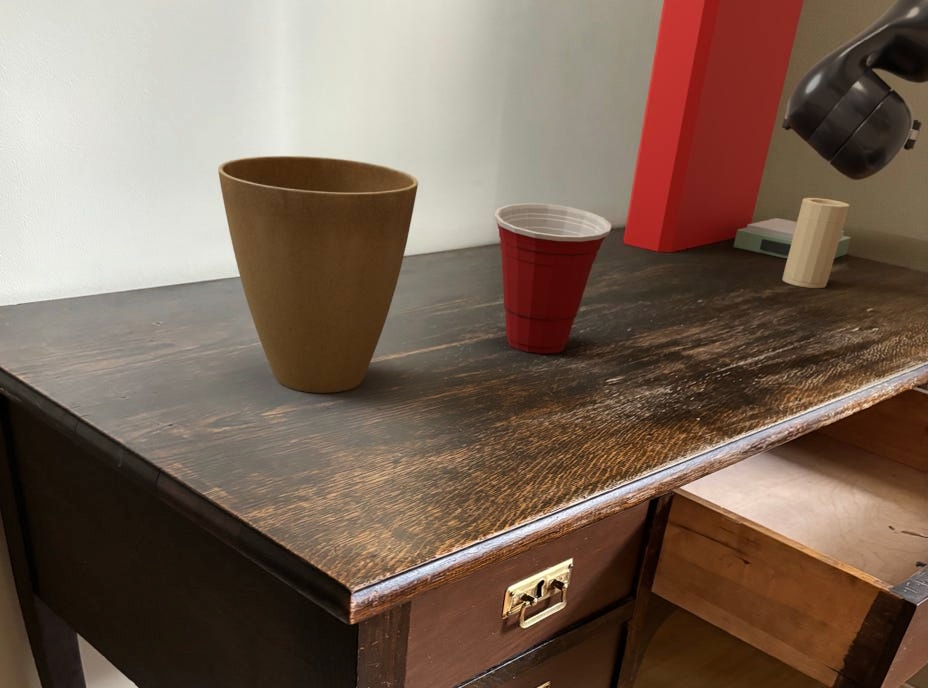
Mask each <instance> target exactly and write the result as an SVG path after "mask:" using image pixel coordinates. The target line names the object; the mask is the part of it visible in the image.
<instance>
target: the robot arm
mask: <svg viewBox="0 0 928 688" xmlns="http://www.w3.org/2000/svg"><path fill="white" fill-rule="evenodd" d="M874 70H880V71H882V72H886V73H888V74H891V75H893V76H894V77H897V78H899V79H902V80H905V81H907V82H911V83H915V84H924V83H927V82H928V0H895V1H894V2H893V3H892V4H891V5H890V6H889V8H887V9H886V10H885V12H883V13H882V15H880V16H879V17H878V18H877V19H876V20H875V21H874V22H872V23H871V24H870V25H869V26H867V27H866V28H865V29H864V30H862V31H861V32H860V33H857V35H855V36H854V37H852V38H850V40H848V41H846V42H845V43H843V44H842V45H840V46H839V47H836V49H834V50H832V51H831V52H829V53H828V54H826V55H825V56H824V57H822V58H821V59H820V60H818V61H817V62H815V63H814V64H813V65H812V66H811V67H809V68H808V69H807V70H806V71H805V72H804V73H803V74H802V76H801V77H800V78H799V79H798V80H797V82H796V83H795V84H794V86H793V87H792V90H791V91H790V94H789V97H788V100H787V103H786V111H785V114H784V119H783V121H782V125H781V128H782V129H784V130H785V131H790V130H792V131H793V132H794V133H796V134H797V135H798V136H799V137H800V138H801V139H802V140H803V141H804V142H805V143H807V144H808V145H809V146H810V148H812V149H813V150H814V151H815V152H816V153H817V154H818V155H819V156H820V157H821V158H822V159H824V160H826V161H827V162H829V165H831V166H832V167H833V168H834V169H835V170H836V171H838V173H839V174H841V175H842V176H844V177H845V178H847V179H849V180H853V181H861V180H863V179H867V178H870V177H871V176H872V177H873V176H874V175H875V174H877V173H879V172H880V171H882V170H883V169H885V168H886V167H887V166H888V165H889V164H890V163H892V161H893V160H895V158H896V157H898V155H899V153H901V151H902V150H903V149H904V150H907V151H910V150H914V148H915V146H916V142H917V139H918V136H919V134H920V131H921V128H922V125H923V123H922V121H921V122H920V121H919V120H918V119H915V118H914V117H915V116H914V111H913V108H912V106H911V105H910V104H909V103H908V101H907V100H906V99H905V98H904V97H902V96H901V94H899V93H898V92H897V91H896V90H895V89H893V87H892V86H891V85H889V84H888V82H887V81H886V80H884V79H883V78H882V77H881V76H880V75H879V74H878V73H877V72H875V71H874Z"/></svg>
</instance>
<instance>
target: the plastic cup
mask: <svg viewBox="0 0 928 688" xmlns="http://www.w3.org/2000/svg"><path fill="white" fill-rule="evenodd" d="M493 218H494V221H495V222H496V225H497V229H498V236H499V239H500V241H499V242H500V250H501V264H502V265H501V266H502V285H503V286H502V288H503V307H504V309H505V312H504V313H505V335H506V337H507V339H506V340H507V344H508V345H509V346H510V347H512V348H514V349H516V350H520V351H522V352H527V353H534V354H557V353H560V352H562V351H564V350H565V348H566V345H567V343H568V341H569V338H570V335H571V331H572V328H573V324H574V321H575V318H576V317H577V315H578V312H579V309H580V305H581V302H582V299H583V296H584V293H585V290H586V286H587V283H588V280H589V276H590V273H591V271H592V268H593V264H594V262H595V260H596V258H597V255H598V251H600V248H601V246H602V243H603V242H604V240H605V239H606V237H607V236H609V235H610V231H611V228H612V223H611V222H609V221H608V220H607V219H606V218H605V217H603V216H600V215H598V214H596V213H593V212H591V211H587V210H583V209H579V208H576V207H571V206H565V205H558V204H550V203H528V202H526V203H525V202H524V203H516V204H515V203H514V204H507V205H505V206H502V207H498V208H496V210H495V212H494V214H493Z"/></svg>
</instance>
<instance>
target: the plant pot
mask: <svg viewBox="0 0 928 688" xmlns="http://www.w3.org/2000/svg"><path fill="white" fill-rule="evenodd" d="M217 171H218V177H219V185H220V190H221V195H222V201H223V205H224V211H225V215H226V222H227V226H228V231H229V237H230V241H231V244H232V249H233V254H234V258H235V262H236V265H237V266H236V267H237V270H238V273H239V278H240V281H241V285H242V289H243V291H244V295H245V298H246V301H247V306H248V308H249V311H250V315H251V318H252V322H253V324H254V327H255V329H256V333H257V336H258V338H259V341H260V343H261V346H262V349H263V352H264V355H265V356H266V357H265V358H266V360H267V362H268V364H269V366H270V369H271V371H272V374H273V376H274V378H275V380H276V381H277V382H278V383H279V384H281V385H282V386H284V387H286V388H289V389H291V390H294V391H299V392H305V393H316V394H317V393H318V394H324V393H325V394H331V393H341V392H346V391H349V390H352V389H354V388H357V387H358V386H360V385H361V384H362V383H363V381H364V378H365V376H366V373H367V371H368V369H369V366H370V363H371V361H372V359H373V356H374V354H375V351H376V348H377V346H378V343H379V341H380V338H381V335H382V332H383V331H384V330H383V329H384V326H385V324H386V321H387V317H388V315H389V312H390V309H391V305H392V302H393V299H394V295H395V291H396V289H397V288H396V287H397V284H398V280H399V277H400V272H401V269H402V265H403V261H404V257H405V251H406V248H407V243H408V238H409V235H410V234H409V233H410V228H411V223H412V218H413V212H414V208H415V207H414V206H415V202H416V197H417V192H418V187H419V181H418V179H417V178H416V177H414V176H413V175H411V174H409V173H407V172H405V171H401V170H400V169H399V170H398V169H396V168H392V167H389V166H385V165H381V164H375V163H371V162H365V161H359V160H353V159H344V158H333V157H324V156H323V157H321V156H307V155H265V156H252V157H243V158H237V159H232V160H227V161H225V162H223V163H221V164H220V165H219V166H218V167H217Z"/></svg>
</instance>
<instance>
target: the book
mask: <svg viewBox="0 0 928 688" xmlns="http://www.w3.org/2000/svg"><path fill="white" fill-rule="evenodd" d="M804 1H805V0H663V1H662V2H663V3H662V9H661V15H660V21H659V25H658V32H657V39H656V45H655V49H654V50H655V51H654V55H653V63H652V68H651V74H650V79H649V86H648V92H647V98H646V104H645V108H644V109H645V110H644V115H643V122H642V126H641V127H642V128H641V134H640V140H639V145H638V151H637V157H636V162H635V167H634V168H635V170H634V175H633V181H632V187H631V192H630V197H629V198H630V199H629V200H630V201H629V204H628V210H627V216H626V223H625V229H624V234H623V241H622V242H623V244H624V245H628V246H632V247H636V248H640V249H645V250H648V251H649V250H650V251H653V252H659V253H674V252H678V250H679V251H683V250H687V248H688V249H691V248H696V247H701V246H705V245H710V244H714V243H718V242H724V241H727V240H732V239H735V238H736V233H737V230H739V229H743V228H747V225H748V224H752V223H753V217H754V215H755V209H756V206H757V205H756V204H757V200H758V196H759V192H760V187H761V183H762V179H763V175H764V171H765V166H766V161H767V159H768V154H769V149H770V146H771V141H772V137H773V132H774V128H775V124H776V120H777V115H778V111H779V106H780V102H781V99H782V95H783V90H784V85H785V80H786V78H787V73H788V68H789V65H790V60H791V56H792V52H793V48H794V43H795V39H796V34H797V30H798V26H799V23H800V17H801V14H802V9H803V5H804Z"/></svg>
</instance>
